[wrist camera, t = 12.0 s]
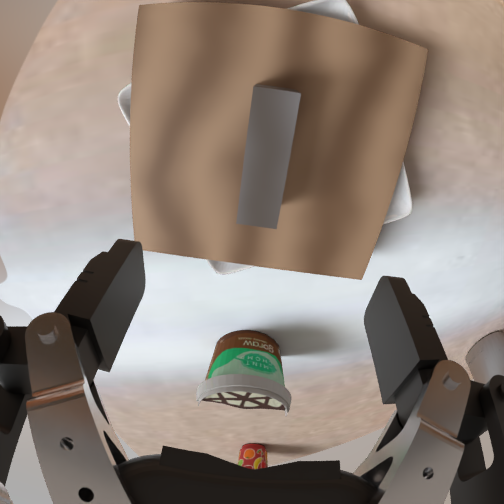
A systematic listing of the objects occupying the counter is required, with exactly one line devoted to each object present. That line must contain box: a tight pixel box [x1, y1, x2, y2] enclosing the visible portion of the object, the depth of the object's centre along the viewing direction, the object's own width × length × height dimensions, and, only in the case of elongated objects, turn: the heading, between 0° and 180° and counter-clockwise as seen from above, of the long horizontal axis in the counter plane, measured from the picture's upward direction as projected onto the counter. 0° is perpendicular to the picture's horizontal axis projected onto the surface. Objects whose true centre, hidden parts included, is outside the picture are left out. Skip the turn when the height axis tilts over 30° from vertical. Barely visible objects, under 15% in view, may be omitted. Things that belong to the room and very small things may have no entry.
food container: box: [196, 330, 291, 416], centre depth 37 cm, size 12×6×10 cm, turn 81°
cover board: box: [130, 2, 428, 280], centre depth 22 cm, size 23×23×5 cm
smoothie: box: [238, 444, 268, 469], centre depth 58 cm, size 8×8×20 cm
